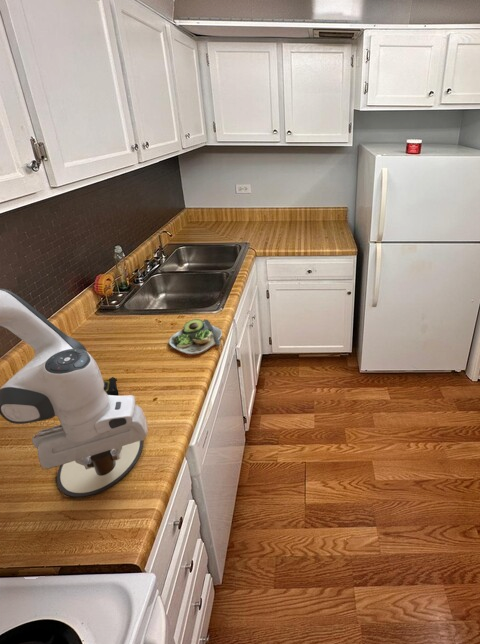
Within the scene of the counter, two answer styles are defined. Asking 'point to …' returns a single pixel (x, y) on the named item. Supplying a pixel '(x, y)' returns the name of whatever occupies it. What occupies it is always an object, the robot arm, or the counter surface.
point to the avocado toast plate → (196, 337)
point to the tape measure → (111, 387)
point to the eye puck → (103, 462)
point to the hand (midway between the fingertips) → (104, 461)
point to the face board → (87, 482)
